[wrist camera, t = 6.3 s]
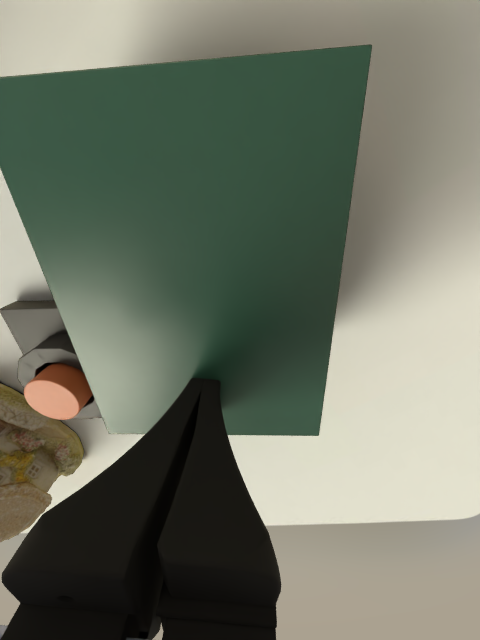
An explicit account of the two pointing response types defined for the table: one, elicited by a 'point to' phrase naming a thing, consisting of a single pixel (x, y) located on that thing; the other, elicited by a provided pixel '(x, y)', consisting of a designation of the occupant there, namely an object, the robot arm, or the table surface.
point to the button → (58, 391)
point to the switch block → (43, 343)
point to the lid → (193, 225)
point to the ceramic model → (30, 461)
